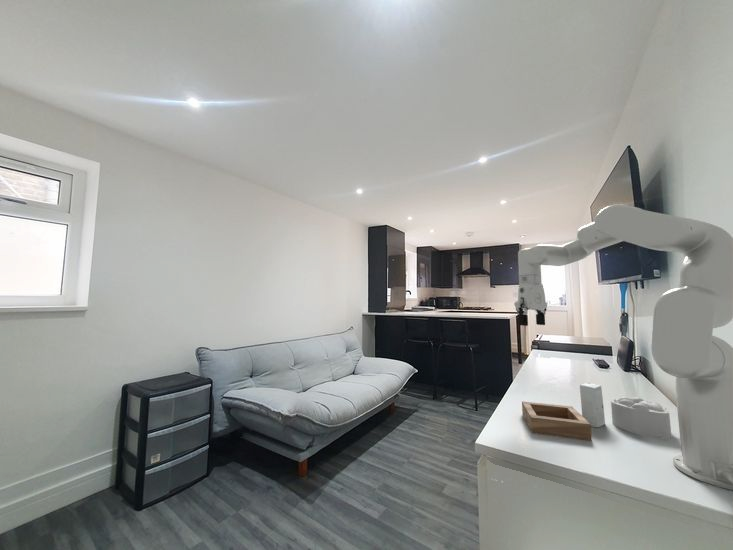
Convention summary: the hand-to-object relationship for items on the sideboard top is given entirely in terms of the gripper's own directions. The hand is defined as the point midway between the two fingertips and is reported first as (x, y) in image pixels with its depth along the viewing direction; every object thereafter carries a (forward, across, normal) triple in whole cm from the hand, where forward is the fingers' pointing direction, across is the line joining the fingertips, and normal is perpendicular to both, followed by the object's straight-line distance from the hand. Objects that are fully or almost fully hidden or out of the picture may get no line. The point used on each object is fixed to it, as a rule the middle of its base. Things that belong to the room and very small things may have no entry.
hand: (532, 325), depth 109 cm
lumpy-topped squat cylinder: (+31, +13, -25) cm, 42 cm away
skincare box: (+31, +4, -17) cm, 35 cm away
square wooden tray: (+31, -10, -13) cm, 35 cm away
